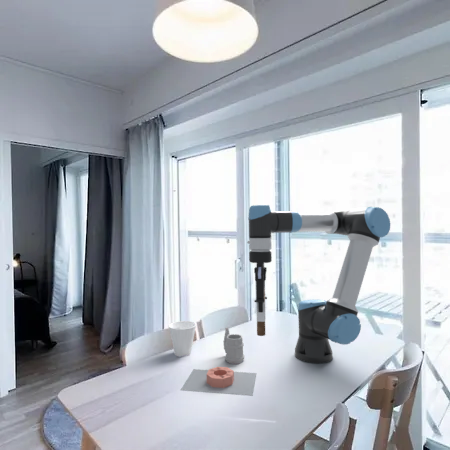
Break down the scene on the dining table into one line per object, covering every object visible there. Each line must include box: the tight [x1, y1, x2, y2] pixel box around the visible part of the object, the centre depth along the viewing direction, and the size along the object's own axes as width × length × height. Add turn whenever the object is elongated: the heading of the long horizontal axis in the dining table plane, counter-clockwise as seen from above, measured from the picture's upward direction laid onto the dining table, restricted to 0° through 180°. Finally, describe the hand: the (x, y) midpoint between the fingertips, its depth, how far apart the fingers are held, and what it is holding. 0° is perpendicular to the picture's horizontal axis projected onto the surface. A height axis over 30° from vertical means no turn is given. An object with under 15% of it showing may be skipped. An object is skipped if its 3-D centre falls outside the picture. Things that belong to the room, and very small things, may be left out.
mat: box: [180, 368, 257, 397], centre depth 113 cm, size 24×16×1 cm, turn 80°
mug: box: [223, 326, 245, 365], centre depth 133 cm, size 8×12×12 cm, turn 31°
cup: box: [168, 320, 197, 358], centre depth 140 cm, size 12×12×12 cm
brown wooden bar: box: [256, 286, 266, 337], centre depth 110 cm, size 3×3×16 cm
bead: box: [207, 366, 235, 388], centre depth 113 cm, size 9×9×3 cm
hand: (261, 319), depth 110 cm, fingers closed on brown wooden bar, 2 cm apart
